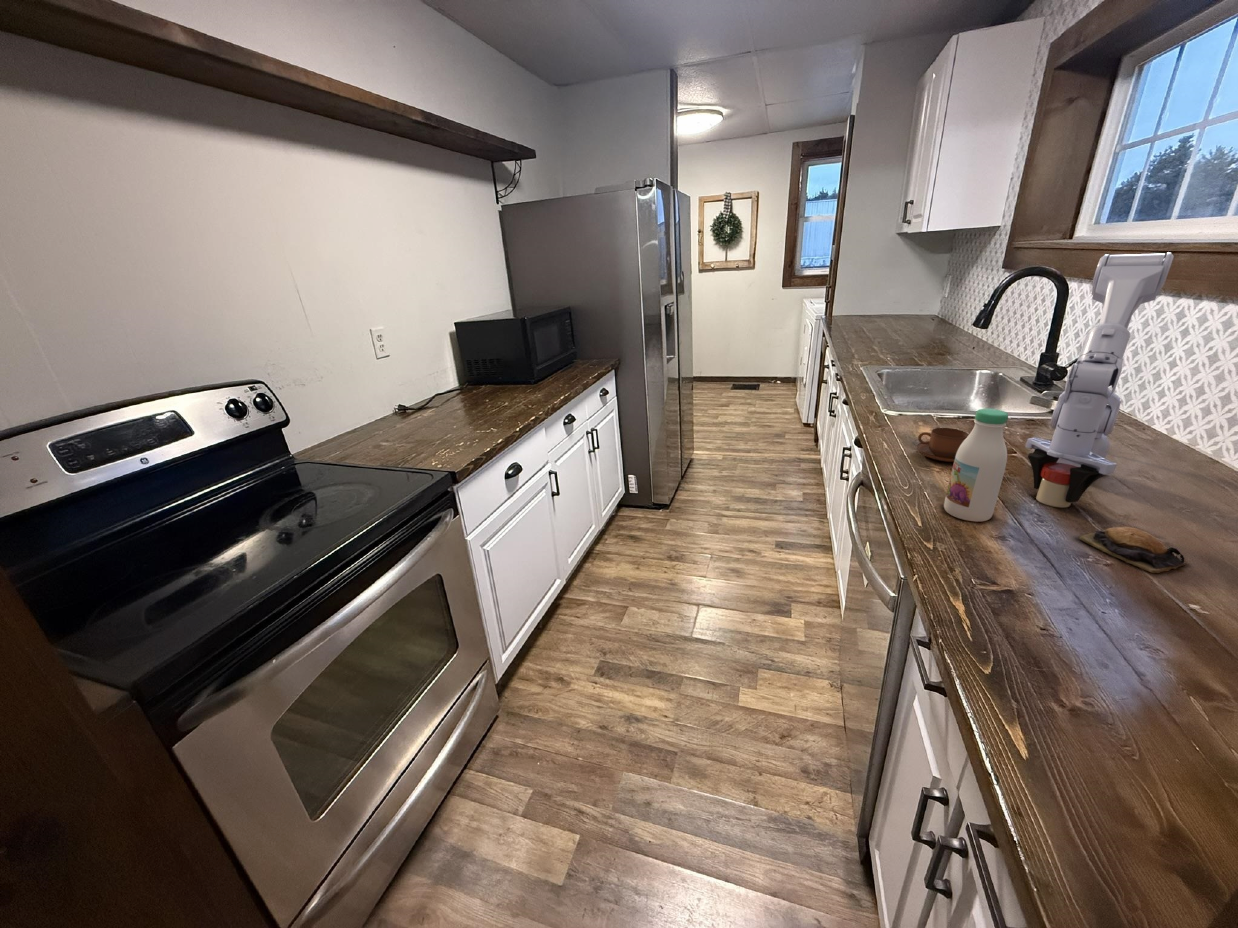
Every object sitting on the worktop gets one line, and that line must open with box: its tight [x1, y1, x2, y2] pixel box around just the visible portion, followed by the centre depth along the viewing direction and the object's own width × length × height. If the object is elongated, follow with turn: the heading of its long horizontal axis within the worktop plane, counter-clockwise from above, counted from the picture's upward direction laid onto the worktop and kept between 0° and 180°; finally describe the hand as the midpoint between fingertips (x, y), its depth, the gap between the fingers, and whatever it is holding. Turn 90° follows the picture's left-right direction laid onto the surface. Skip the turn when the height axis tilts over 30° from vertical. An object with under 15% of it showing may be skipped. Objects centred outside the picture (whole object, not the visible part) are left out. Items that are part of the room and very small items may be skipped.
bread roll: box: [1079, 526, 1187, 574], centre depth 80 cm, size 11×8×4 cm
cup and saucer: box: [916, 427, 969, 463], centre depth 118 cm, size 12×12×6 cm
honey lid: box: [1041, 463, 1076, 485], centre depth 94 cm, size 6×6×2 cm
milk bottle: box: [943, 408, 1009, 523], centre depth 90 cm, size 8×8×20 cm
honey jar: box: [1035, 477, 1072, 508], centre depth 96 cm, size 5×5×6 cm
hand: (1054, 494), depth 96 cm, fingers closed on honey lid, 5 cm apart
